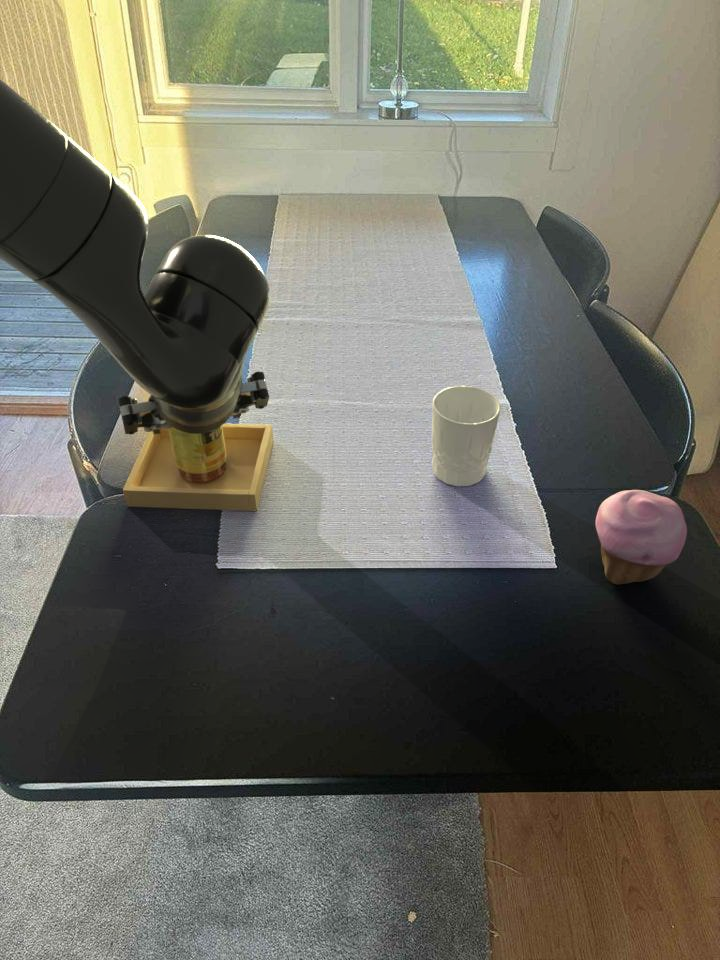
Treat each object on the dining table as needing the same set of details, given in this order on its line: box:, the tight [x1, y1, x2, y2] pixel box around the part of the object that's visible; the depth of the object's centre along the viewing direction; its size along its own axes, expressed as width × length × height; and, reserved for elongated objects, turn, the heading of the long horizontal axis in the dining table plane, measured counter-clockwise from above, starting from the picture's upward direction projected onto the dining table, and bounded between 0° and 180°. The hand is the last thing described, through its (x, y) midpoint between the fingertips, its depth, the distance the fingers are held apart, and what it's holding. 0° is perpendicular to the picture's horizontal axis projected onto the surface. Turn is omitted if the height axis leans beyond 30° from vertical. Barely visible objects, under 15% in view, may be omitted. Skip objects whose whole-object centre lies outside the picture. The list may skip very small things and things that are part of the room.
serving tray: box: [122, 422, 275, 512], centre depth 87 cm, size 16×14×3 cm
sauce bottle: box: [168, 426, 227, 483], centre depth 81 cm, size 6×6×20 cm
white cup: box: [431, 385, 502, 487], centre depth 85 cm, size 8×8×10 cm
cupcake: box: [595, 489, 688, 585], centre depth 72 cm, size 9×9×10 cm
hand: (195, 416), depth 75 cm, fingers open, 8 cm apart
